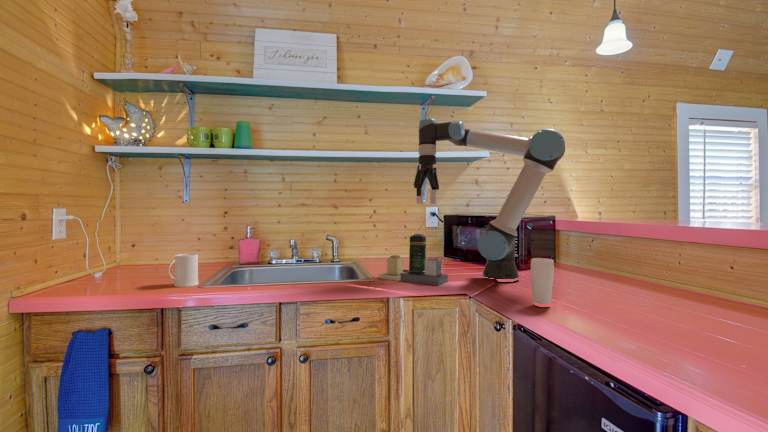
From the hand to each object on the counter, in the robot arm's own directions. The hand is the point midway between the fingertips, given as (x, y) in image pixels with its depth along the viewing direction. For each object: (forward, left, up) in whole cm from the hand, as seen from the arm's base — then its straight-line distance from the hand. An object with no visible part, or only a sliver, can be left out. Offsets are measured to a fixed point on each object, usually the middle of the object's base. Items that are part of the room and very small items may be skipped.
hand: (426, 204), depth 162 cm
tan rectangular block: (+10, +10, -32) cm, 35 cm away
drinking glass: (-51, +21, -33) cm, 64 cm away
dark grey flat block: (-4, +11, -33) cm, 35 cm away
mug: (+72, +68, -33) cm, 104 cm away
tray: (+10, +10, -33) cm, 36 cm away
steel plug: (-8, +11, -32) cm, 35 cm away
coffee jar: (+10, -11, -33) cm, 36 cm away
